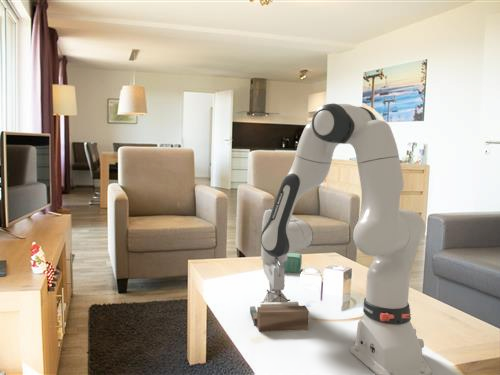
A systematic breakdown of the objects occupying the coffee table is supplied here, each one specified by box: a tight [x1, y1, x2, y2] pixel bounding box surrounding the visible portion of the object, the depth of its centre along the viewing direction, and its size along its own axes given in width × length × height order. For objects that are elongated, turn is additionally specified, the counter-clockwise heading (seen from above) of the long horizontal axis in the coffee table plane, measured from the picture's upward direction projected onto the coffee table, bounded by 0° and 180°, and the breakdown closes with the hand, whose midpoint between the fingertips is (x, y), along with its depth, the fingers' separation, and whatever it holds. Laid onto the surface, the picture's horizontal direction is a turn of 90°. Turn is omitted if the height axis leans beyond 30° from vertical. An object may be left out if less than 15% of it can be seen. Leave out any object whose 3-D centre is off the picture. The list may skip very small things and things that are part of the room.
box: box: [283, 252, 303, 274], centre depth 200 cm, size 7×14×8 cm, turn 79°
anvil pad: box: [259, 301, 300, 307], centre depth 146 cm, size 2×12×5 cm, turn 97°
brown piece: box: [249, 305, 310, 333], centre depth 146 cm, size 15×17×6 cm
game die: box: [260, 289, 291, 303], centre depth 152 cm, size 9×8×10 cm
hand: (272, 294), depth 157 cm, fingers closed
